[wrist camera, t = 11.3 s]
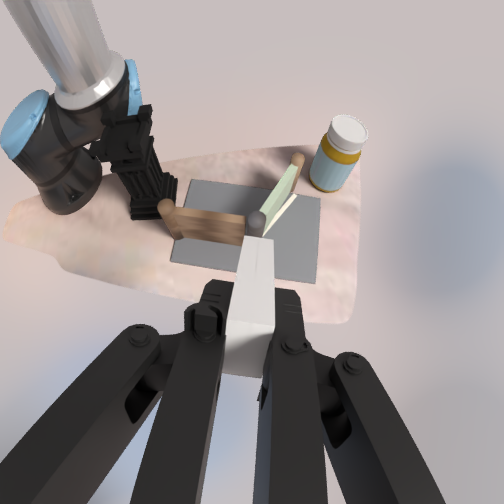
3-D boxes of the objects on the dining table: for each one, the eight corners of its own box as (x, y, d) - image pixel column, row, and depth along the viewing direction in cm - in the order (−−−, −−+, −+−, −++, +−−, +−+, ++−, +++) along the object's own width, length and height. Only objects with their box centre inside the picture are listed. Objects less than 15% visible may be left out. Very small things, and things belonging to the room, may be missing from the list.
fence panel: (263, 237, 46) (269, 213, 37) (253, 231, 46) (257, 206, 37) (296, 186, 49) (306, 156, 41) (286, 181, 49) (295, 150, 41)
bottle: (320, 198, 50) (346, 149, 36) (301, 170, 52) (320, 116, 38) (348, 187, 52) (379, 140, 37) (329, 160, 53) (353, 109, 39)
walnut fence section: (170, 239, 46) (155, 212, 36) (173, 226, 47) (160, 197, 37) (259, 252, 46) (265, 228, 36) (261, 239, 47) (267, 212, 37)
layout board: (171, 261, 45) (170, 260, 45) (192, 180, 50) (191, 178, 50) (314, 283, 45) (315, 283, 45) (319, 199, 50) (320, 198, 50)
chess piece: (132, 220, 47) (85, 154, 28) (138, 183, 50) (101, 110, 31) (174, 218, 48) (142, 146, 29) (177, 180, 50) (154, 101, 31)
